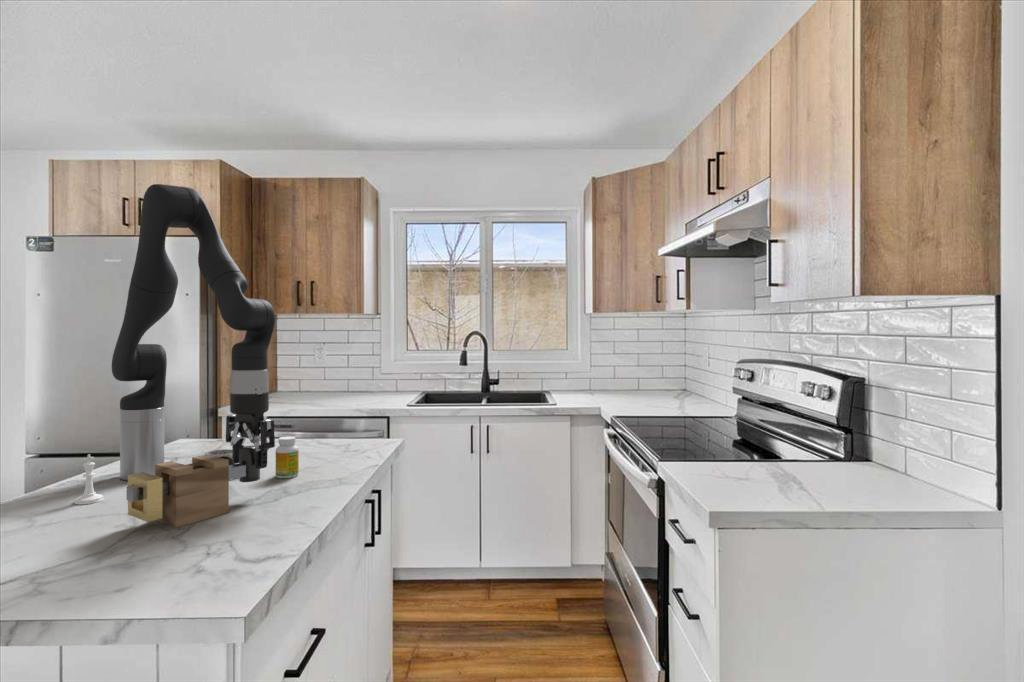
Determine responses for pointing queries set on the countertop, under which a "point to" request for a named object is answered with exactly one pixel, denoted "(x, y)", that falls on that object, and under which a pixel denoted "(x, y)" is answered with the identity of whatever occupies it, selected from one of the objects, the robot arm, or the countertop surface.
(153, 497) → the block
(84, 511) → the countertop surface
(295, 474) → the supplement bottle
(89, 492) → the chess piece
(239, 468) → the shaft
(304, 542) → the countertop surface
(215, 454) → the mug
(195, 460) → the bearing block
